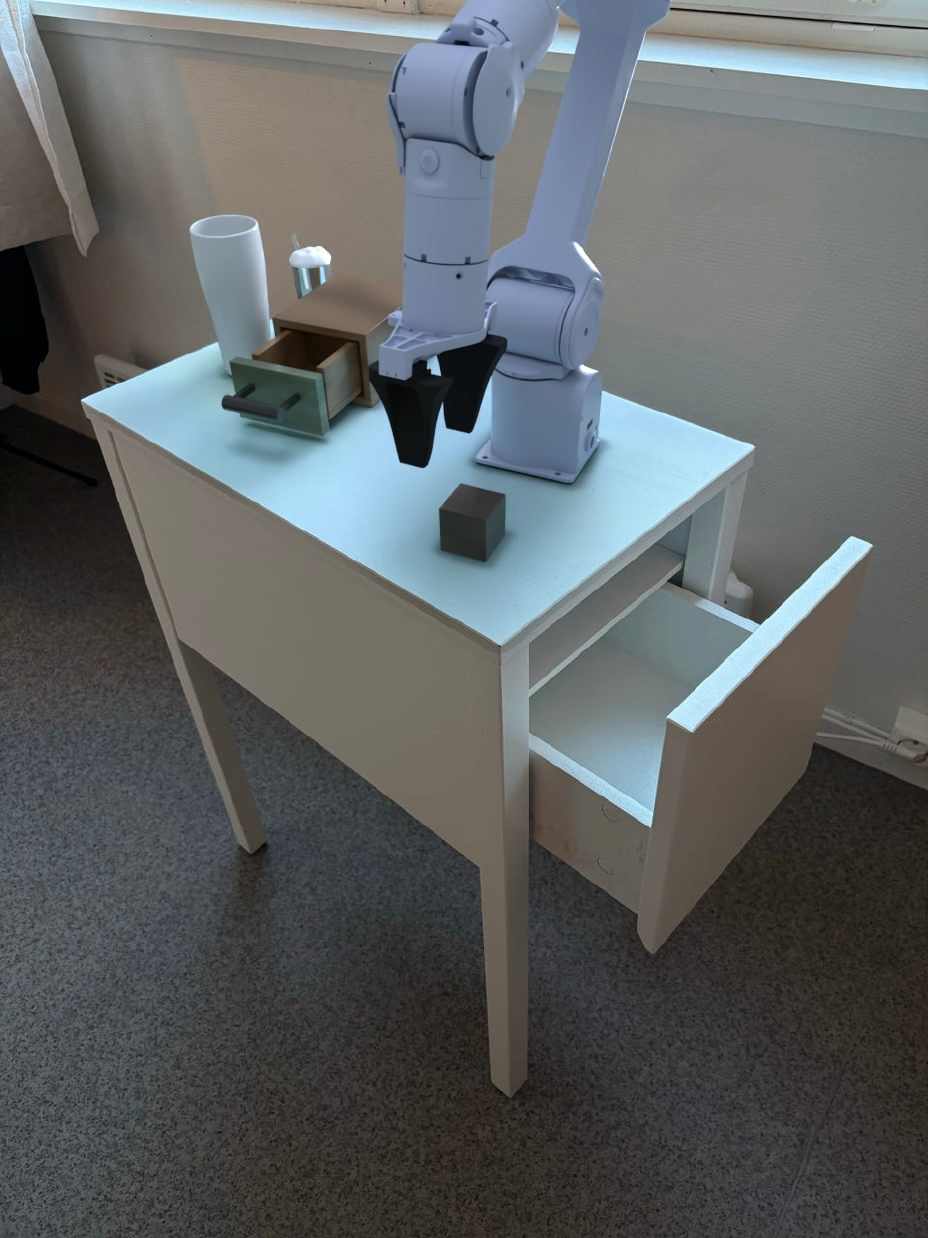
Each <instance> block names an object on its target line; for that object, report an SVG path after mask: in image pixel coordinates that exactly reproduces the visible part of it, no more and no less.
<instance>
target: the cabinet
mask: <svg viewBox="0 0 928 1238" xmlns="http://www.w3.org/2000/svg"><path fill="white" fill-rule="evenodd" d="M402 300H403V283H399V282H392V281H385V280H381V279H373V278H367V277H361V276H356V275H350V274H349V275H348V274H342V273H336V274H335V275H333V276H331V278H330V279H328V280H327V281H325V282H324V283H322V284H321V285H320V286H318V287H317V288H315V289H314V290H312V291H311V292H309V293H308V294H306V295H305V296H303V297H302V298H300V299H299V300H298V299H297V300H296V301H294V302H293V303H291V304H289V305H288V306H287V307H285V308H284V309H282V310H281V311H279V312H278V313H277V314H274V315H273V316H272V317H271V322H272V328H273V334H274V338H275V337H276V336H277V335H279V334H280V333H282V332H283V331H285V330H286V329H287V328H291V329H296V330H302V331H307V332H312V333H318V334H323V335H328V336H333V337H339V338H344V339H349V340H355V341H360V342H359V345H360V355H361V365H362V375H363V386H364V390H363V391H362V392H361V393H360V394H359V395H358V396H356V397H355V398H354V399H353V400H352V401H351V402H350V403H351V404H355V405H360V406H365V407H370V408H373V407H374V406H375V405H376V404H378V402H379V401H381V399H380V398H379V396H378V394H377V392H376V390H375V389H374V387H373V386H372V384H371V382H370V381H369V365H370V364H372V363H374V362H376V361H377V360H379V346H380V345H381V344H383V343H385V342H386V341H387V340H388V339H389V337H390V336H391V334H392V332H393V330H394V328H395V327H394V326H390V325H389V324H388V315H389V314H391V313H393V312H396V311H398V310H402ZM350 403H349V404H350Z"/></svg>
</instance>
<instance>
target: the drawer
mask: <svg viewBox="0 0 928 1238" xmlns="http://www.w3.org/2000/svg"><path fill="white" fill-rule="evenodd" d="M359 342H360V341H355V340H349V339H344V338H339V337H333V336H328V335H323V334H318V333H312V332H307V331H302V330H296V329H291V328H287V329H286V330H285V331H283V332H282V333H280V334H279V335H277V336H276V337H275V336H274V337H273V338H271V340H270V341H269V342H267V343H266V344H265V345H263V346H262V347H260V348H259V349H257V350H256V351H255V352H253V353H252V354H251V355H252V359H247V358H242V357H237V356H236V357H235V358H233V359H232V360H230V361H229V363H230V368H231V373H232V376H231V377H232V383H233V388H234V394H233V395H231V394H225V395H223V397H222V398H221V408H222V409H223V410H224V411H227V412H233V413H236V414H239V417H240V418H242V419H246V420H251V421H255V422H260V423H264V424H268V425H273V426H277V427H280V428H285V429H290V430H295V431H299V432H303V433H308V434H311V435H316V436H320V437H324V436H326V434H327V433H328V432H330V425H329V420H332V418H335V416H336V415H337V414H338V413H340V411H342V410H343V409H344V408H345V407H346V406H348V405H349V404H350V402H351V401H352V400H353V399H354V398H355V397H356V396H358V395H359V394H360V393H361V392H362V391H363V390H364V386H363V375H362V365H361V355H360V345H359Z"/></svg>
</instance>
